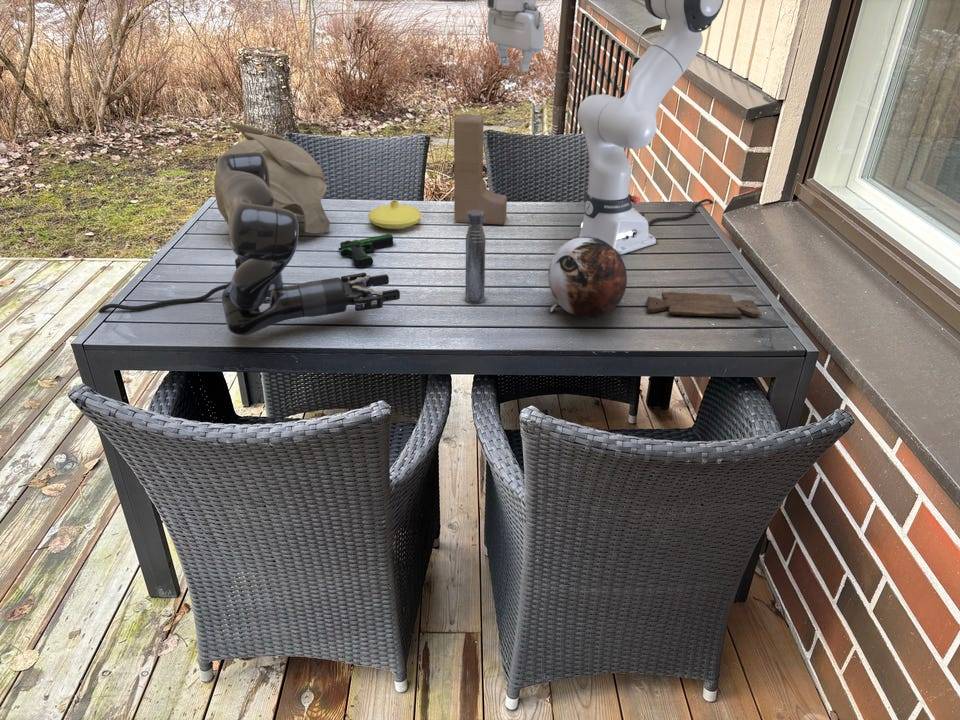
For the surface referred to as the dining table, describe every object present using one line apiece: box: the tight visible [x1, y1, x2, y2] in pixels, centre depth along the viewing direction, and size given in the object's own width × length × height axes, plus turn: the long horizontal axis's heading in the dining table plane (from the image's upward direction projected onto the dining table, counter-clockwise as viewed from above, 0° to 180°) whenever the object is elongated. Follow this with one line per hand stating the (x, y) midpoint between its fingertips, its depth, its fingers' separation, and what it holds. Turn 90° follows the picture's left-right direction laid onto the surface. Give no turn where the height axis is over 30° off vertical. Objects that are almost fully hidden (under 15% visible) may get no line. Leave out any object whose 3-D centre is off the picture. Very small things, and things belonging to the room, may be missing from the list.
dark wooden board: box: [646, 291, 762, 318], centre depth 167 cm, size 26×2×10 cm
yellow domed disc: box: [367, 199, 423, 230], centre depth 210 cm, size 16×16×7 cm
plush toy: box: [547, 236, 628, 319], centre depth 161 cm, size 22×18×20 cm
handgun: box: [338, 233, 394, 268], centre depth 191 cm, size 16×3×15 cm
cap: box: [466, 210, 484, 225], centre depth 159 cm, size 4×4×2 cm
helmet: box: [213, 123, 331, 234], centre depth 198 cm, size 27×30×30 cm
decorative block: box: [453, 113, 508, 226], centre depth 209 cm, size 8×15×30 cm, turn 82°
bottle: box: [464, 223, 486, 305], centre depth 164 cm, size 4×4×21 cm
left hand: (393, 286), depth 159 cm, fingers open, 8 cm apart
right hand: (513, 68), depth 165 cm, fingers open, 8 cm apart
